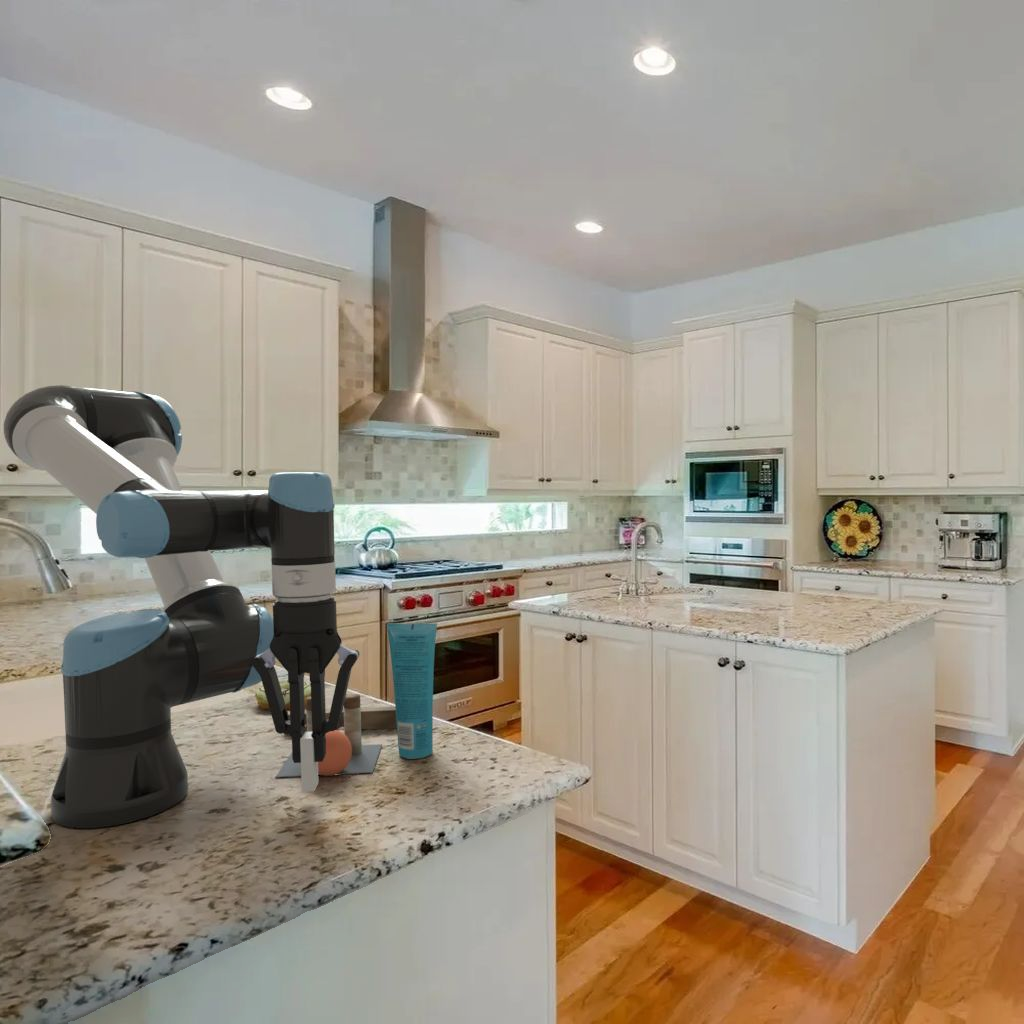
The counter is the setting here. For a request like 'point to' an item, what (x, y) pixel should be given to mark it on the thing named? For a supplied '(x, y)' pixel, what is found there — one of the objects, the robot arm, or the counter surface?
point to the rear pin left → (353, 722)
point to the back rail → (369, 718)
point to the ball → (335, 754)
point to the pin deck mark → (356, 765)
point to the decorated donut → (284, 686)
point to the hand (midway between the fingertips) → (310, 787)
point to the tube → (413, 686)
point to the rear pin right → (309, 714)
